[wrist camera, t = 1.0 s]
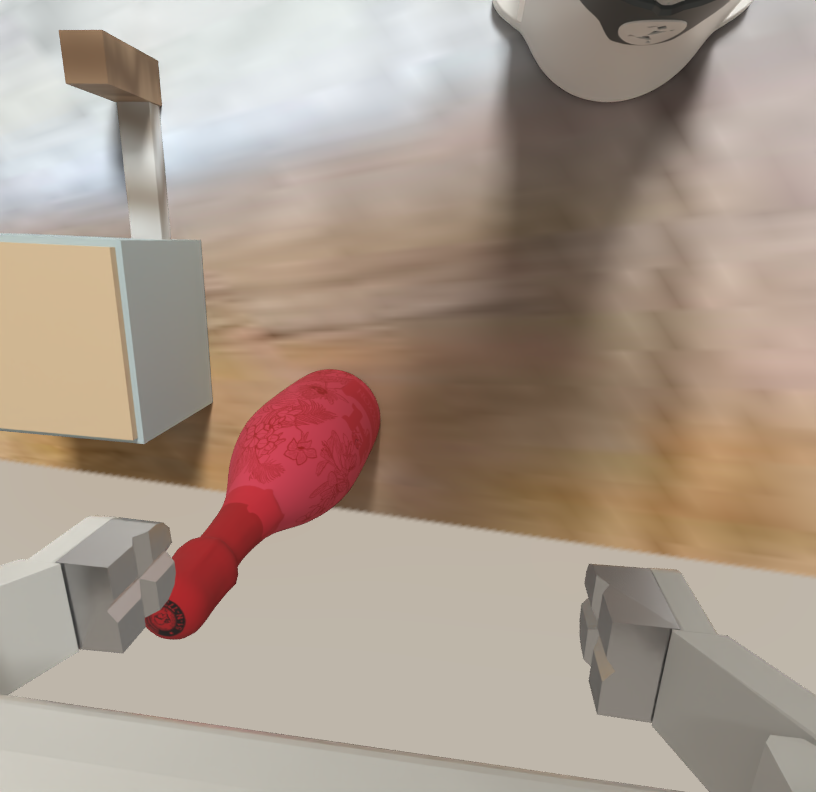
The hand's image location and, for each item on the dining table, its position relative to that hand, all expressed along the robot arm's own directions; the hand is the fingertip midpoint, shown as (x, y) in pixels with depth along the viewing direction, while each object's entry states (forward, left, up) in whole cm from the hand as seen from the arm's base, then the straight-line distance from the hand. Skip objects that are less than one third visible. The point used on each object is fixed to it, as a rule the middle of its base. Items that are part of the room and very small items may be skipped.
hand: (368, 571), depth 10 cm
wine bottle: (+11, -11, -40) cm, 43 cm away
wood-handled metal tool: (-11, -29, -40) cm, 50 cm away
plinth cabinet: (+3, -31, -40) cm, 51 cm away
